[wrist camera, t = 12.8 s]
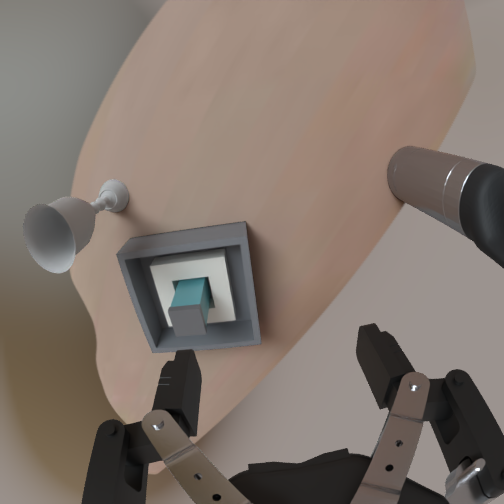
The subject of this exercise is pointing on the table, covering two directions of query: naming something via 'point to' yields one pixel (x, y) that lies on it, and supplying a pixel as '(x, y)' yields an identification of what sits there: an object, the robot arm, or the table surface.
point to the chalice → (68, 225)
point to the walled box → (187, 267)
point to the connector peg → (190, 307)
